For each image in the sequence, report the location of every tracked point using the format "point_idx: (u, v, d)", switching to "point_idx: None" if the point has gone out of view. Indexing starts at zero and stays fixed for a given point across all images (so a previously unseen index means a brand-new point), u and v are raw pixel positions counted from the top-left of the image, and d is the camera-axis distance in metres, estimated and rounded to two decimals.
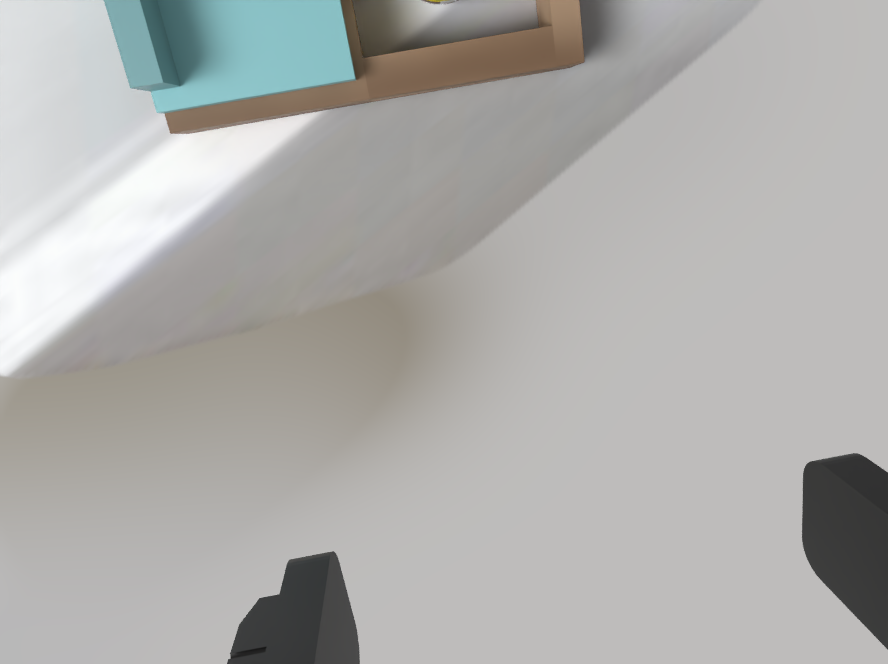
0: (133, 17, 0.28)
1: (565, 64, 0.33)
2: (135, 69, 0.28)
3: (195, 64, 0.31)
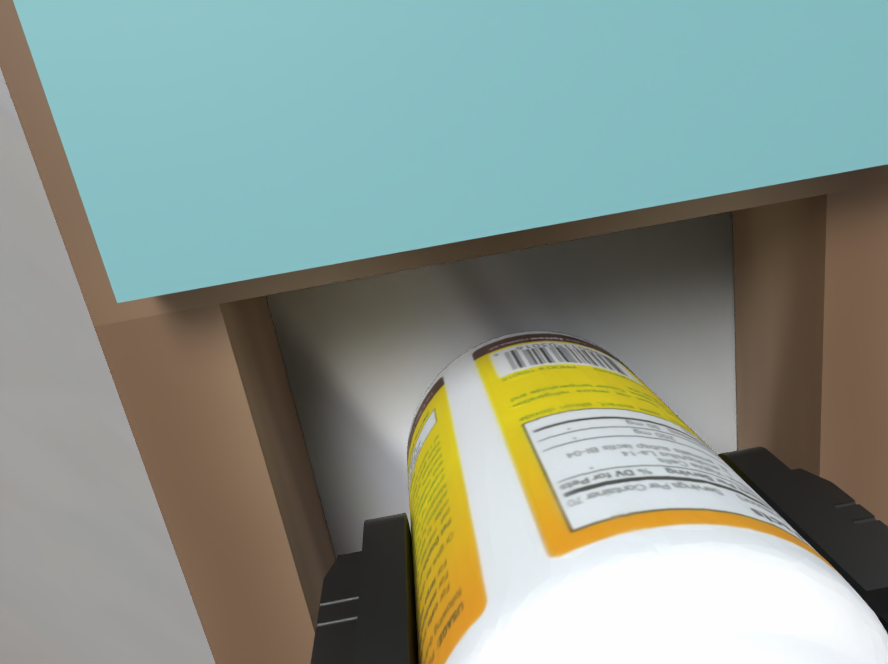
0: None
1: None
2: None
3: None
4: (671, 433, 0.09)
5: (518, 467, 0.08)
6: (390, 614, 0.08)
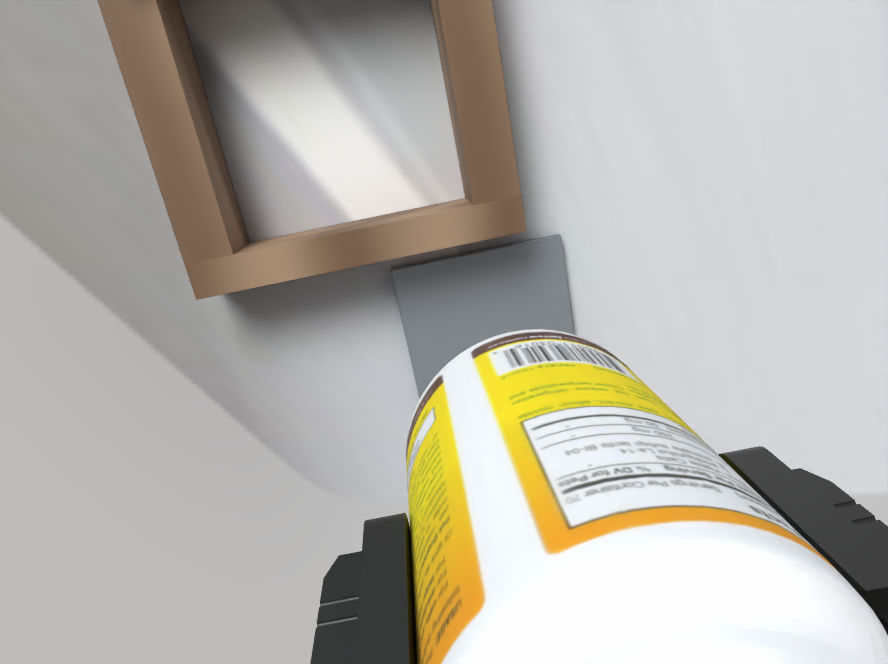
0: None
1: (190, 275, 0.26)
2: None
3: None
4: (670, 431, 0.09)
5: (517, 465, 0.08)
6: (390, 614, 0.08)
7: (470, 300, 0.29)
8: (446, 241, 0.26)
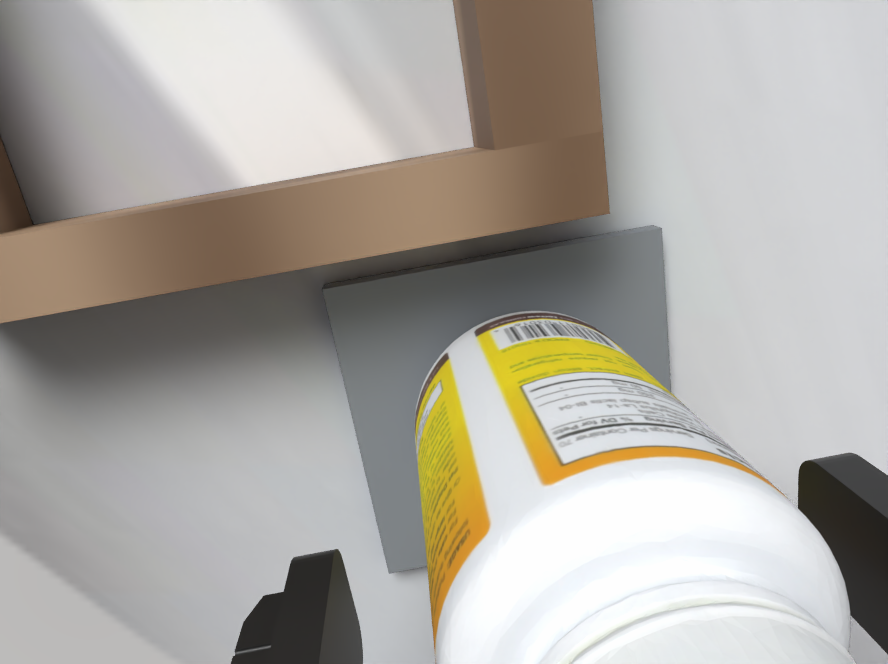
0: None
1: None
2: None
3: None
4: (652, 392, 0.10)
5: (517, 420, 0.10)
6: None
7: None
8: (431, 231, 0.12)
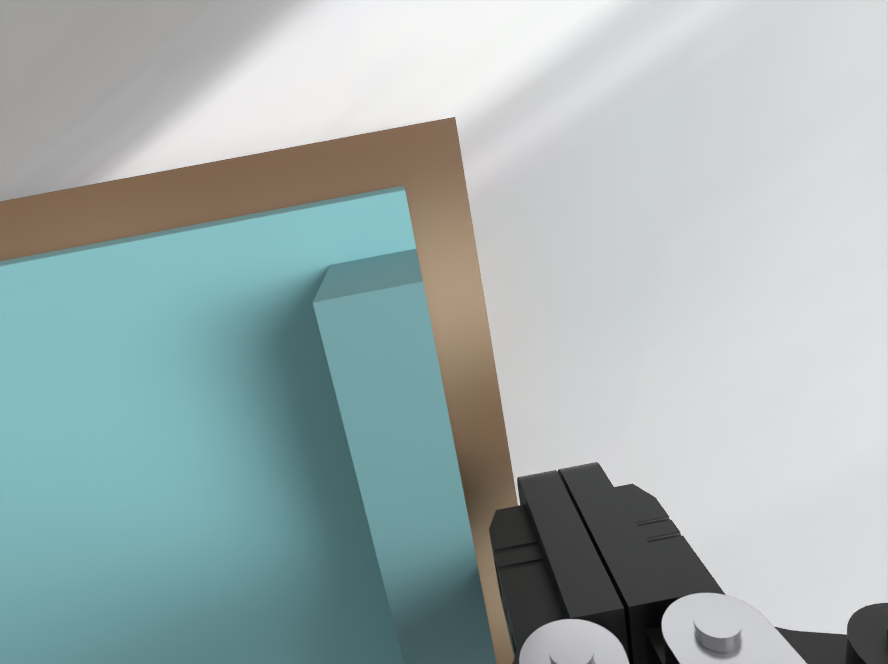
0: (389, 475, 0.09)
1: None
2: (398, 337, 0.09)
3: (286, 322, 0.11)
4: None
5: None
6: (580, 555, 0.09)
7: None
8: None
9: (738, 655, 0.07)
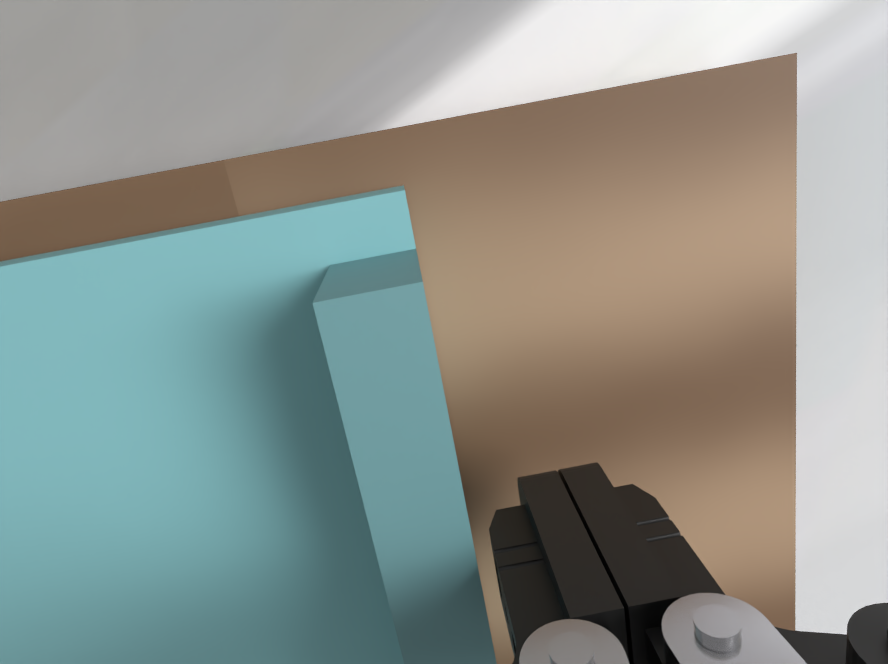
0: (389, 475, 0.09)
1: None
2: (398, 338, 0.09)
3: (286, 322, 0.11)
4: None
5: None
6: (580, 554, 0.09)
7: None
8: None
9: (738, 655, 0.07)
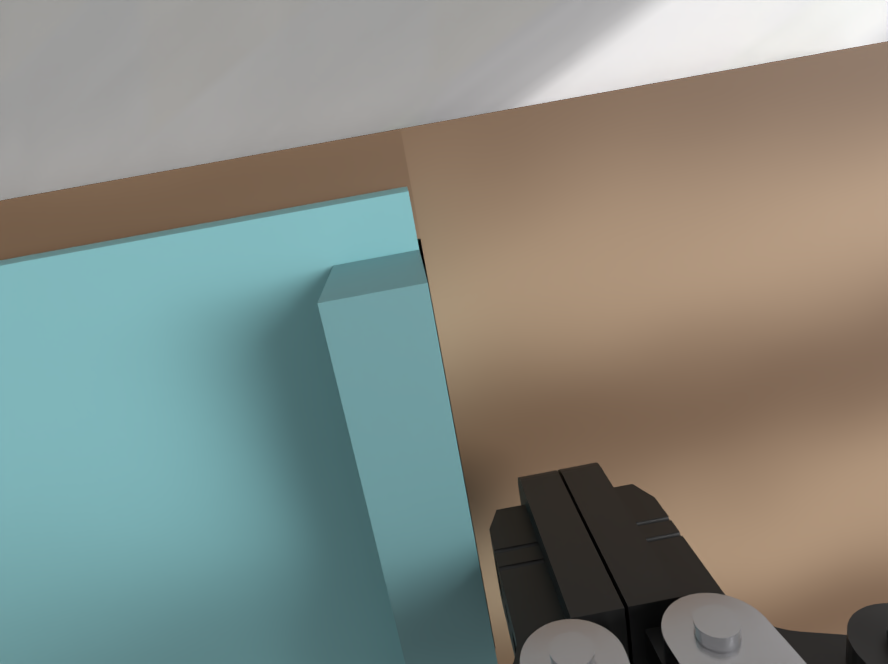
0: (392, 475, 0.09)
1: None
2: (402, 338, 0.09)
3: (289, 322, 0.11)
4: None
5: None
6: (581, 554, 0.09)
7: None
8: None
9: (738, 655, 0.07)
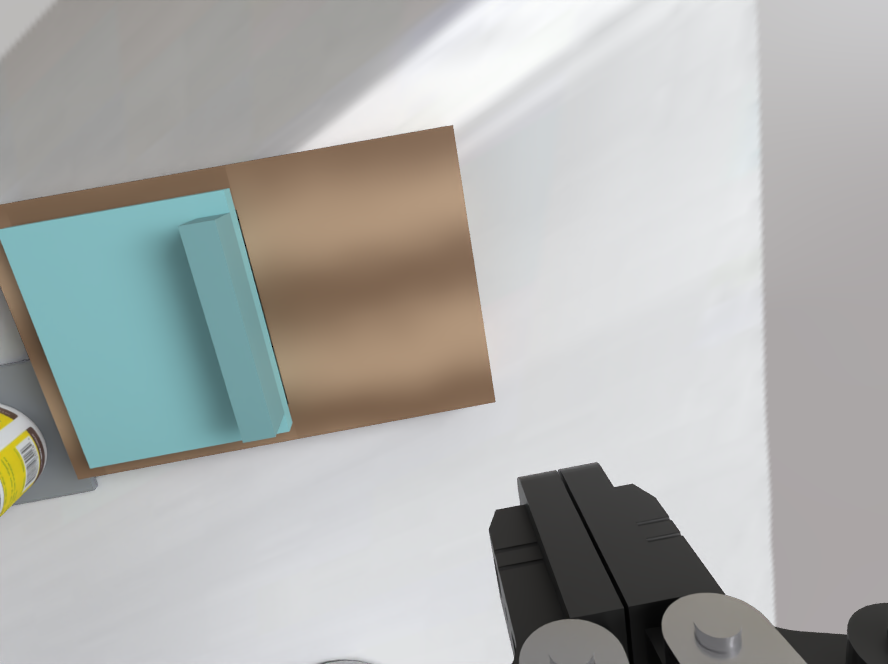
0: (208, 289, 0.26)
1: None
2: (207, 239, 0.26)
3: (180, 241, 0.28)
4: None
5: None
6: (580, 555, 0.09)
7: None
8: (60, 420, 0.31)
9: (738, 655, 0.07)
